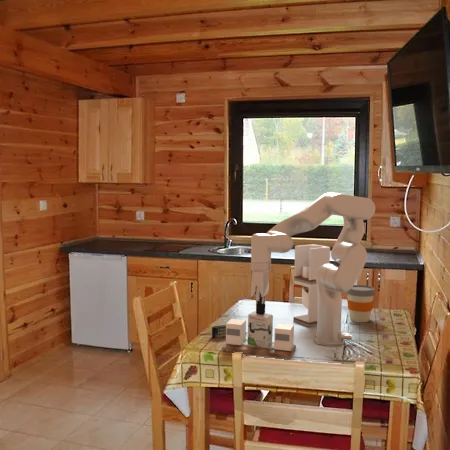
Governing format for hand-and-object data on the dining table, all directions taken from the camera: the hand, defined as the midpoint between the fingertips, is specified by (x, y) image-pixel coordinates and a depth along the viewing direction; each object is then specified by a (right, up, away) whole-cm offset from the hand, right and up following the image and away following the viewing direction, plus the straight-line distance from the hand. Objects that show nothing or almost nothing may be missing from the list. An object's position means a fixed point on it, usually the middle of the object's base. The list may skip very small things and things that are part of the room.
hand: (260, 313), depth 200 cm
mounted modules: (0, -12, +1) cm, 12 cm away
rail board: (0, -14, +1) cm, 14 cm away
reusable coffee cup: (+50, -11, +45) cm, 68 cm away
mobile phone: (-12, -13, +18) cm, 25 cm away
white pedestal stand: (+26, -11, +39) cm, 48 cm away
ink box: (0, -12, +1) cm, 12 cm away
